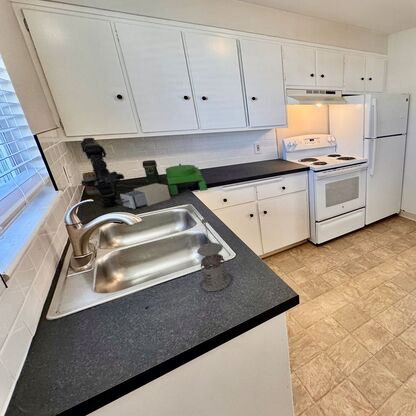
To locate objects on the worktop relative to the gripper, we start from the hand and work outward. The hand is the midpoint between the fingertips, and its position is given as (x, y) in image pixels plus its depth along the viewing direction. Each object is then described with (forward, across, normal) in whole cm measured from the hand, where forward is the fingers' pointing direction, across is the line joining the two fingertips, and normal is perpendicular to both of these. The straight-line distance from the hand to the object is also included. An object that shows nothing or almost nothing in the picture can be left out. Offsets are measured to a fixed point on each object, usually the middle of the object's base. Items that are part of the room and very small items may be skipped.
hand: (108, 194), depth 155 cm
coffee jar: (+12, +51, +44) cm, 68 cm away
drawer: (+11, +12, 0) cm, 17 cm away
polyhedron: (+10, +13, 0) cm, 17 cm away
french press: (+12, -19, -107) cm, 109 cm away
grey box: (+12, +24, 0) cm, 27 cm away
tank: (+12, +56, +9) cm, 58 cm away
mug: (+12, +18, +57) cm, 61 cm away
